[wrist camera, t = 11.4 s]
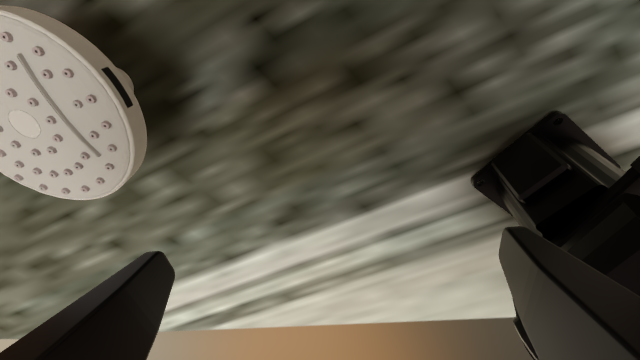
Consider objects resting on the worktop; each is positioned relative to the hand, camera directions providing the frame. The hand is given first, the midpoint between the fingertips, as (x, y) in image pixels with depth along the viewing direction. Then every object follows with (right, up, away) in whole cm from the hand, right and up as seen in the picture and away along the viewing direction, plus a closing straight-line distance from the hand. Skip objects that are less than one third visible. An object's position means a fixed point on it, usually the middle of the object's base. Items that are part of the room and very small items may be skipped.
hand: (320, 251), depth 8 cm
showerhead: (-13, +8, +12) cm, 20 cm away
